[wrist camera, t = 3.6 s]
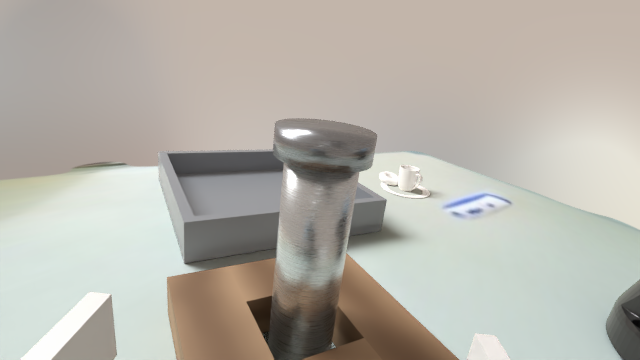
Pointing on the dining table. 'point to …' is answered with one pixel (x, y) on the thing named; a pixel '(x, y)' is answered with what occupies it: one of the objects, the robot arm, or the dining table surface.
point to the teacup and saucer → (404, 181)
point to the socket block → (255, 310)
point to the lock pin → (313, 229)
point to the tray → (237, 202)
